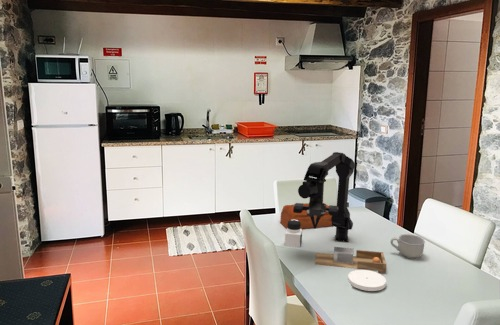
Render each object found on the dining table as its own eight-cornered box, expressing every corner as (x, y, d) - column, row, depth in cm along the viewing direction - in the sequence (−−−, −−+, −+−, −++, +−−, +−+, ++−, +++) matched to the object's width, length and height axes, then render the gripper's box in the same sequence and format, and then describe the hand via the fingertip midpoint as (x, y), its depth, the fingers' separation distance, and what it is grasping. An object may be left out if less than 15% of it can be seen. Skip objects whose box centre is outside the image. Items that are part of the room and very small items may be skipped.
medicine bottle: (300, 249, 189) (301, 224, 186) (284, 247, 190) (285, 222, 188) (301, 243, 195) (302, 219, 193) (286, 241, 197) (287, 217, 194)
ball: (373, 263, 174) (371, 256, 173) (380, 261, 173) (378, 255, 173) (373, 266, 171) (371, 259, 170) (381, 264, 170) (379, 258, 170)
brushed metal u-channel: (334, 246, 177) (353, 248, 175) (333, 257, 178) (352, 259, 176) (334, 251, 172) (353, 253, 170) (333, 262, 173) (353, 264, 171)
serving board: (316, 254, 183) (316, 246, 182) (382, 261, 177) (383, 252, 176) (314, 266, 171) (315, 257, 171) (385, 273, 166) (386, 264, 165)
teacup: (423, 253, 186) (425, 236, 184) (422, 262, 176) (424, 245, 174) (391, 247, 191) (392, 231, 190) (388, 256, 182) (389, 239, 180)
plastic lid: (367, 272, 167) (368, 266, 167) (393, 288, 155) (394, 282, 154) (340, 280, 161) (340, 274, 160) (364, 297, 149) (365, 290, 148)
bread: (336, 226, 218) (337, 207, 216) (288, 231, 210) (289, 211, 208) (322, 217, 232) (323, 199, 230) (278, 221, 225) (278, 202, 223)
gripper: (292, 197, 169) (291, 233, 173) (339, 200, 166) (337, 237, 169) (295, 190, 180) (294, 224, 183) (339, 192, 176) (337, 227, 180)
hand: (315, 228), depth 178 cm, fingers closed
